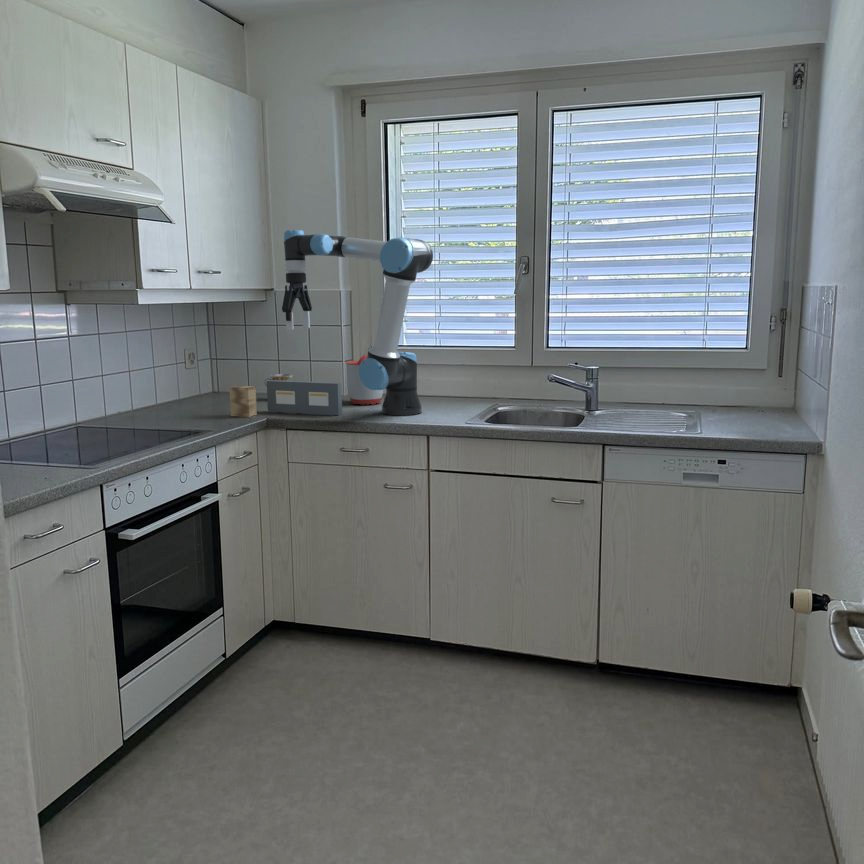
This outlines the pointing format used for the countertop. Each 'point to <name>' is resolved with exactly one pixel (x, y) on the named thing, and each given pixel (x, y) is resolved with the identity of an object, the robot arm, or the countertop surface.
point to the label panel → (304, 397)
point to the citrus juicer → (360, 385)
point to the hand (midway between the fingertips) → (298, 329)
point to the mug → (281, 377)
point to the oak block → (243, 400)
